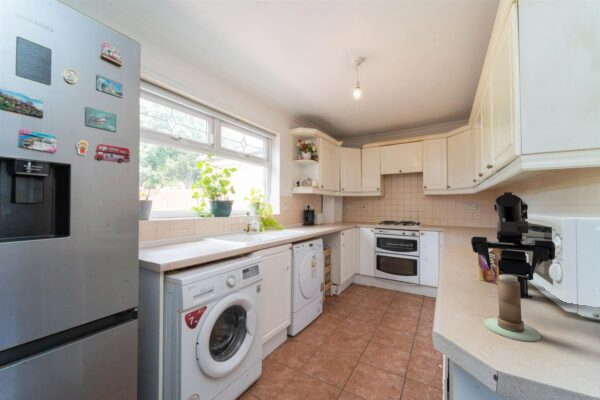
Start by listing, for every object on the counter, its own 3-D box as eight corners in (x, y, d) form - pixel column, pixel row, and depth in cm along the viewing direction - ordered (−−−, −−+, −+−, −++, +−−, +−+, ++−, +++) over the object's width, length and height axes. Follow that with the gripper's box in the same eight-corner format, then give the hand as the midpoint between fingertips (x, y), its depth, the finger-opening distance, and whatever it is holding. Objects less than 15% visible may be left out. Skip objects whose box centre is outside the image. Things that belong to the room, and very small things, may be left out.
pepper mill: (511, 322, 65) (509, 273, 65) (530, 332, 60) (527, 279, 60) (492, 322, 65) (490, 273, 66) (509, 332, 60) (506, 279, 60)
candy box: (509, 284, 97) (507, 246, 97) (503, 286, 95) (501, 247, 95) (484, 278, 105) (482, 243, 105) (478, 280, 103) (476, 244, 103)
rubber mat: (513, 319, 68) (513, 317, 68) (554, 341, 57) (554, 338, 57) (474, 319, 68) (474, 318, 68) (507, 341, 57) (507, 339, 57)
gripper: (470, 211, 79) (465, 250, 71) (552, 211, 66) (558, 258, 58) (475, 233, 85) (471, 271, 76) (552, 237, 72) (557, 283, 63)
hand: (509, 270), depth 68 cm, fingers open, 9 cm apart
